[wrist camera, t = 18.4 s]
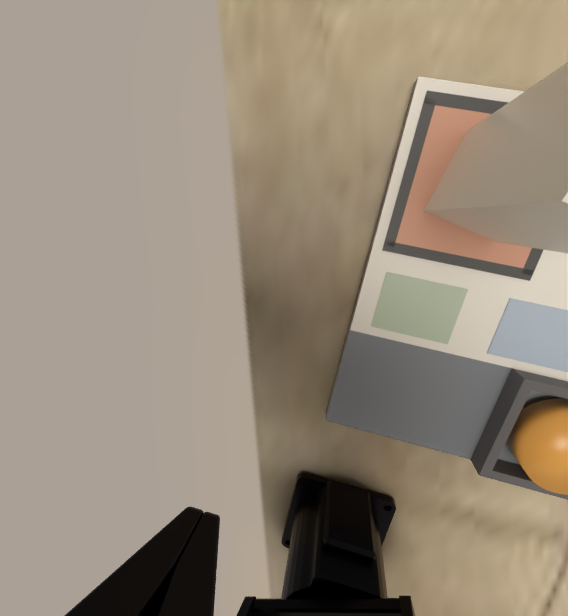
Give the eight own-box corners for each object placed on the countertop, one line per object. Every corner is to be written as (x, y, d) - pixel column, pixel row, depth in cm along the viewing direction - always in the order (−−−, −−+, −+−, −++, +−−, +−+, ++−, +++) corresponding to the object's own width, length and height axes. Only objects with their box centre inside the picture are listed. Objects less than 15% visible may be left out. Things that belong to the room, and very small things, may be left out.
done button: (578, 480, 17) (601, 505, 16) (493, 457, 18) (507, 480, 16) (619, 411, 16) (649, 432, 14) (526, 389, 16) (545, 406, 15)
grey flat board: (600, 485, 18) (629, 516, 16) (326, 412, 20) (324, 433, 18) (813, 143, 13) (895, 131, 11) (414, 84, 15) (424, 65, 13)
